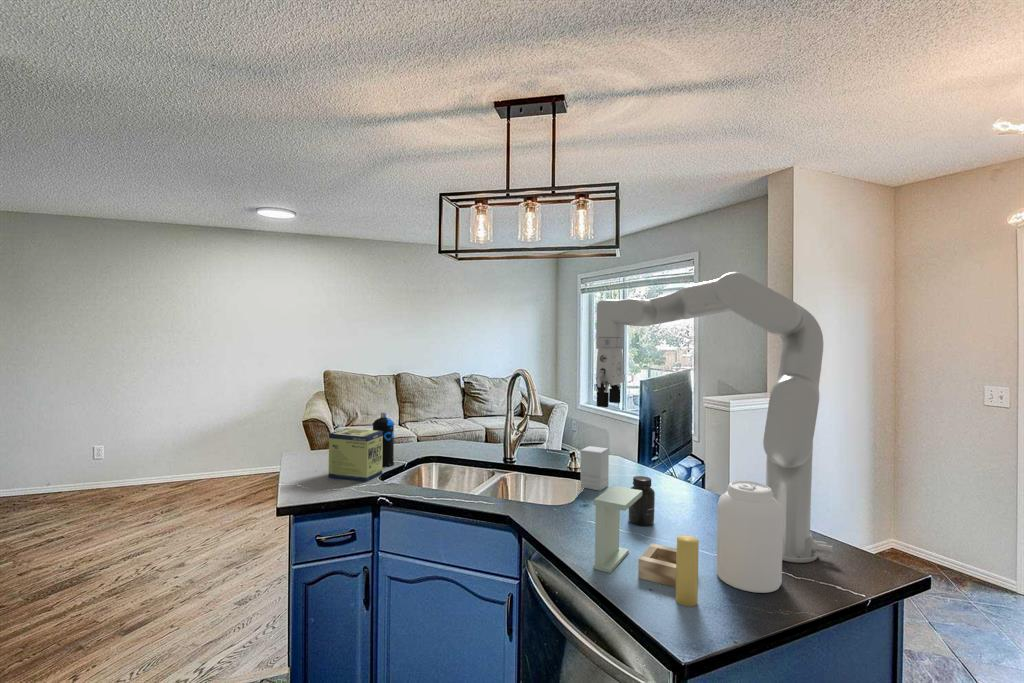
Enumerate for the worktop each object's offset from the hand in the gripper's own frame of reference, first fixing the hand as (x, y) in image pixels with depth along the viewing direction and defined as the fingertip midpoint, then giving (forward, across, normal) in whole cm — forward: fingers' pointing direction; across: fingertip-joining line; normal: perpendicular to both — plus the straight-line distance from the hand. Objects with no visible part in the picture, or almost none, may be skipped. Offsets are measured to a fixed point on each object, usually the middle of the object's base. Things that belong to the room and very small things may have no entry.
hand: (608, 404), depth 145 cm
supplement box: (+31, +23, +13) cm, 41 cm away
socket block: (+31, -27, -24) cm, 48 cm away
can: (+32, -20, -39) cm, 54 cm away
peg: (+31, -36, -29) cm, 56 cm away
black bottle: (+31, +5, +91) cm, 96 cm away
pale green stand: (+31, -27, -13) cm, 43 cm away
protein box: (+31, -11, +88) cm, 94 cm away
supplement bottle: (+31, 0, -10) cm, 33 cm away
